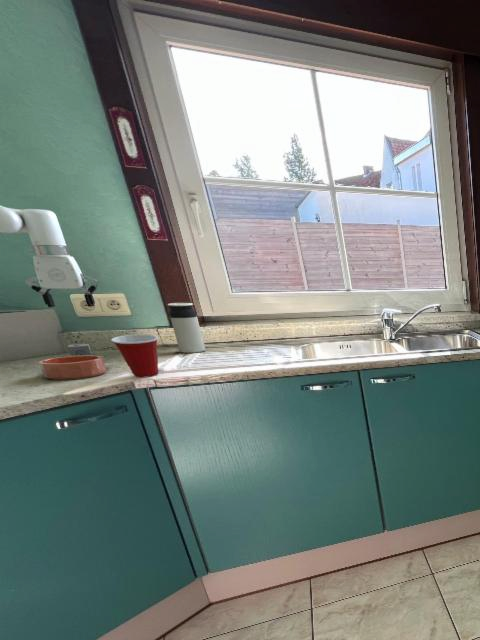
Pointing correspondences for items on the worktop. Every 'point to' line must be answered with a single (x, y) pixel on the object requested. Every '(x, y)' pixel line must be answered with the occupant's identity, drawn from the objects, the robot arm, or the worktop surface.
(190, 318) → the travel mug
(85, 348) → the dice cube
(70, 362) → the bowl
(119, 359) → the worktop surface
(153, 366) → the plastic cup
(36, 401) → the worktop surface
